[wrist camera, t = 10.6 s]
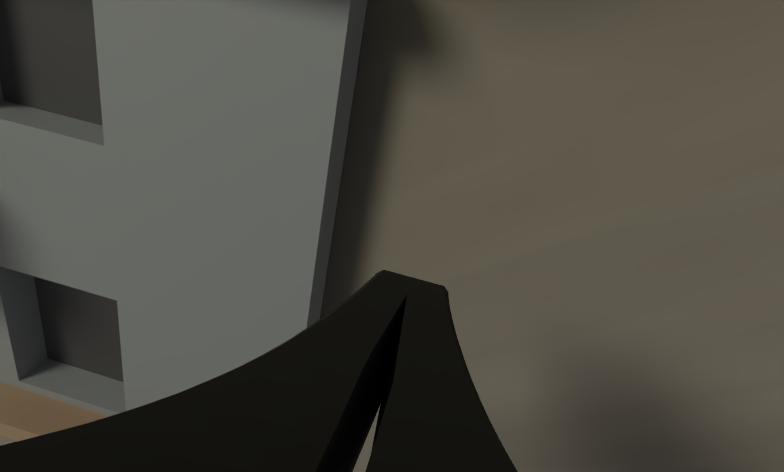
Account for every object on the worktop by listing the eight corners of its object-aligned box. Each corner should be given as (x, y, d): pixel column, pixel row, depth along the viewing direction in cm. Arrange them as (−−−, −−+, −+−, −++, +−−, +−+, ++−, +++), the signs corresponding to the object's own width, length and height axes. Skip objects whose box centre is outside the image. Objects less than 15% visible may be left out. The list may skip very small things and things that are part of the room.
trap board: (299, 454, 26) (258, 546, 22) (-94, 330, 29) (-204, 390, 24) (377, -68, 15) (326, -97, 11) (-268, -199, 18) (-526, -266, 13)
